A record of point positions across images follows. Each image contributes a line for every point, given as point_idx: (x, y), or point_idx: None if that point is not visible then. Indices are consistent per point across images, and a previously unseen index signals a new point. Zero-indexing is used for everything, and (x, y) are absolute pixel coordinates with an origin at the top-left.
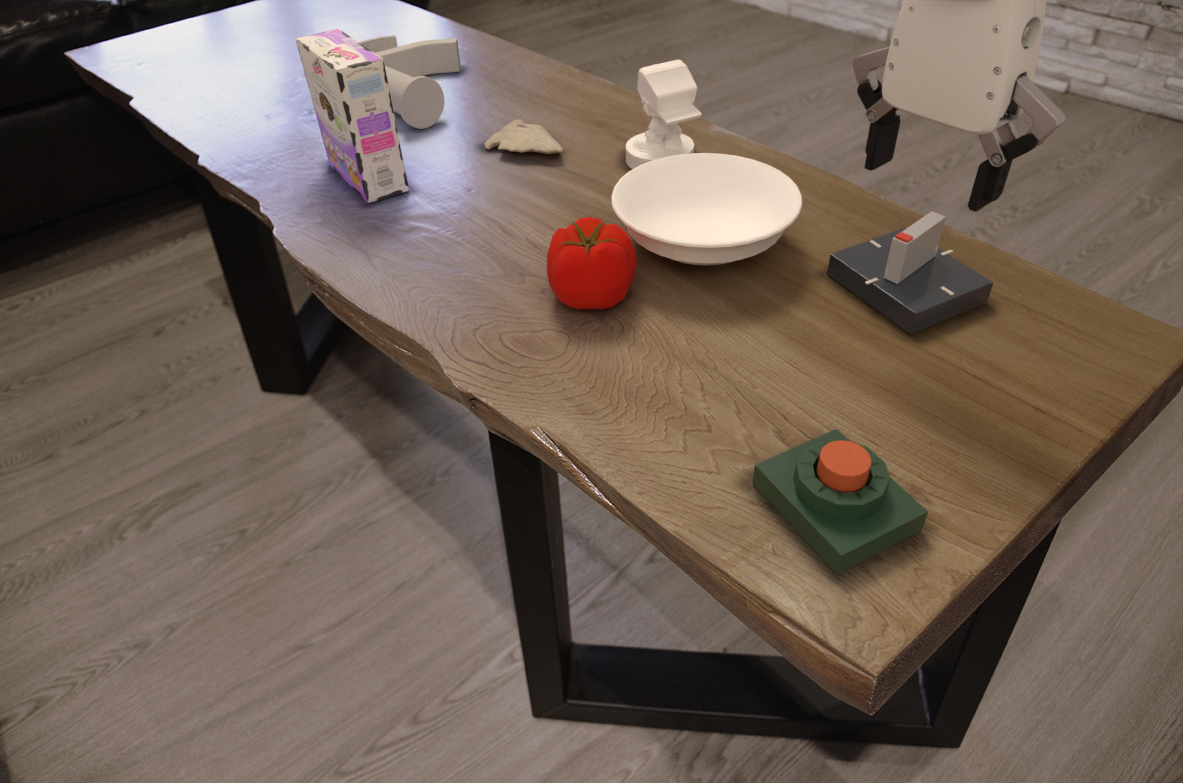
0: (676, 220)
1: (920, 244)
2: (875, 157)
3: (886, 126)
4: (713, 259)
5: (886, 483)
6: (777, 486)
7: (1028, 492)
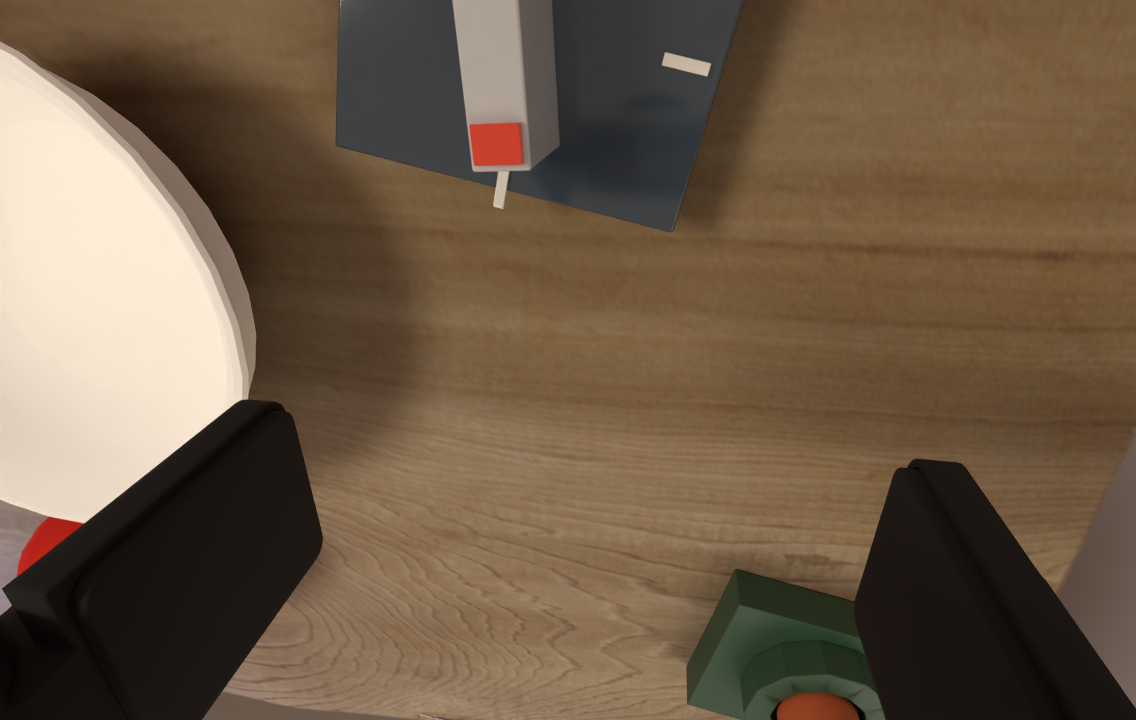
0: (3, 244)
1: (532, 49)
2: (286, 593)
3: (151, 717)
4: None
5: None
6: (736, 716)
7: (1080, 478)
